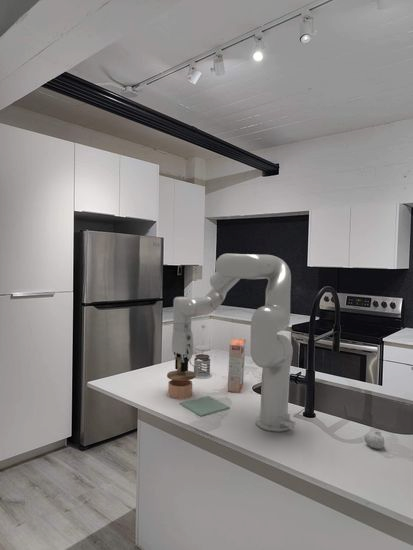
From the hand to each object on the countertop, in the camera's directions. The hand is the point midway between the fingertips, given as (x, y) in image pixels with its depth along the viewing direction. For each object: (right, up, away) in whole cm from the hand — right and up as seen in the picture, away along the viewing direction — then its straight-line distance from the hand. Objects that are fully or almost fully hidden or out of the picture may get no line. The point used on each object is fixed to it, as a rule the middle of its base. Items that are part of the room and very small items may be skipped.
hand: (181, 369), depth 161 cm
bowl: (-1, -11, +1) cm, 11 cm away
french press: (+7, -10, +27) cm, 29 cm away
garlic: (+63, -15, -40) cm, 76 cm away
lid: (0, -3, 0) cm, 3 cm away
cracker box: (+24, -11, +12) cm, 29 cm away
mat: (+10, -11, -11) cm, 19 cm away
